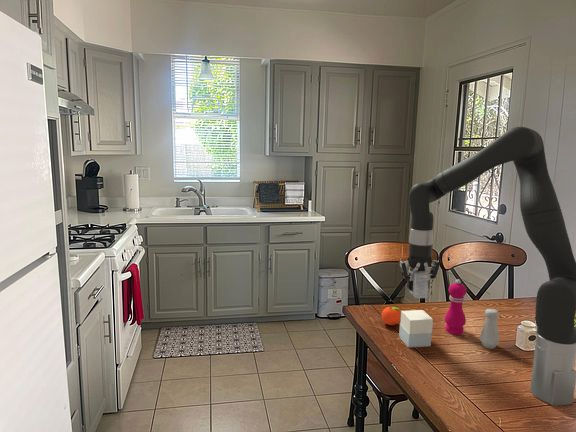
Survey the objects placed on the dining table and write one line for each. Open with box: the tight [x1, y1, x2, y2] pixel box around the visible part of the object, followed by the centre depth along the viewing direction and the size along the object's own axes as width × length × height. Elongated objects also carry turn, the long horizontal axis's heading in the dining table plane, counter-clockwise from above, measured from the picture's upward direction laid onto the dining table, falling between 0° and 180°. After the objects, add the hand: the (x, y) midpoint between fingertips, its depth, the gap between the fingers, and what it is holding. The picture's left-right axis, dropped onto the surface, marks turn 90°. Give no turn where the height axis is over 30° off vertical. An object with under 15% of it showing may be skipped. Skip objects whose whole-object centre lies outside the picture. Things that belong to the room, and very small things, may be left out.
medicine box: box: [407, 270, 429, 299], centre depth 138 cm, size 8×4×9 cm, turn 0°
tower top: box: [400, 309, 434, 334], centre depth 141 cm, size 8×8×5 cm
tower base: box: [398, 323, 432, 348], centre depth 142 cm, size 8×8×5 cm
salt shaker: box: [479, 308, 500, 350], centre depth 138 cm, size 6×6×13 cm
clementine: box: [381, 306, 401, 326], centre depth 155 cm, size 8×7×7 cm
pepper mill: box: [444, 279, 467, 336], centre depth 148 cm, size 7×7×20 cm
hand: (417, 289), depth 139 cm, fingers closed on medicine box, 4 cm apart
